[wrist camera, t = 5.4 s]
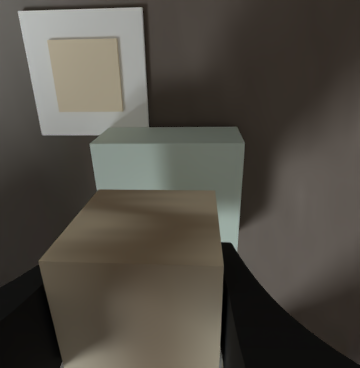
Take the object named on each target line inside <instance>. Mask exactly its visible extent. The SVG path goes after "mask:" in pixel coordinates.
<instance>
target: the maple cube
mask: <svg viewBox="0 0 360 368" xmlns="http://www.w3.org/2000/svg"><path fill="white" fill-rule="evenodd" d="M38 262H39V267H40V271H41V275H42V279H43V283H44V287H45V291H46V295H47V299H48V304H49V308H50V312H51V316H52V320H53V324H54V328H55V332H56V336H57V341H58V345H59V349H60V353H61V357H62V361H63V365H64V368H219V360H220V339H221V317H222V295H223V274H224V263H223V255H222V246H221V237H220V228H219V219H218V211H217V202H216V193H215V190H114V189H99V190H98V191H97V192H96V193H95V194H94V196H93V197H92V198H91V199H90V200H89V201H88V203H87V204H86V205H85V206H84V207H83V209H82V210H81V211H80V212H79V213H78V215H77V216H76V217H75V218H74V219H73V220H72V222H71V223H70V224H69V225H68V226H67V228H66V229H65V230H64V231H63V232H62V234H61V235H60V236H59V237H58V238H57V239H56V241H55V242H54V243H53V244H52V245H51V247H50V248H49V249H48V250H47V251H46V253H45V254H44V255H43V256H42V257H41V258H40V260H39V261H38Z"/></svg>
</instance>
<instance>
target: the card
mask: <svg viewBox="0 0 360 368" xmlns="http://www.w3.org/2000/svg"><path fill="white" fill-rule="evenodd" d="M18 14H19V20H20V25H21V30H22V35H23V40H24V45H25V50H26V55H27V61H28V66H29V71H30V76H31V81H32V86H33V91H34V97H35V102H36V107H37V112H38V117H39V122H40V127H41V132H42V135H101V134H102V133H103V132H104V131H105V130H107V129H108V128H125V127H149V112H148V94H147V76H146V57H145V39H144V21H143V8H142V7H132V8H101V9H69V10H37V11H18Z"/></svg>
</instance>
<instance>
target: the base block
mask: <svg viewBox="0 0 360 368" xmlns="http://www.w3.org/2000/svg"><path fill="white" fill-rule="evenodd" d="M90 150H91V157H92V163H93V169H94V175H95V182H96V188H97V191H98V190H99V189H114V190H215V193H216V202H217V211H218V219H219V228H220V237H221V242H231V243H232V244H233V246H234V248H235V249H236V251H237V246H238V232H239V218H240V205H241V191H242V177H243V163H244V150H245V142H244V140H243V138H242V136H241V134H240V132H239V130H238V128H237V127H125V128H108V129H107V130H105V131H104V132H103V133H102V134H101V135H99V136H98V137H97V138H96V139H95V140H93V141H92V142H91V143H90Z"/></svg>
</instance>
